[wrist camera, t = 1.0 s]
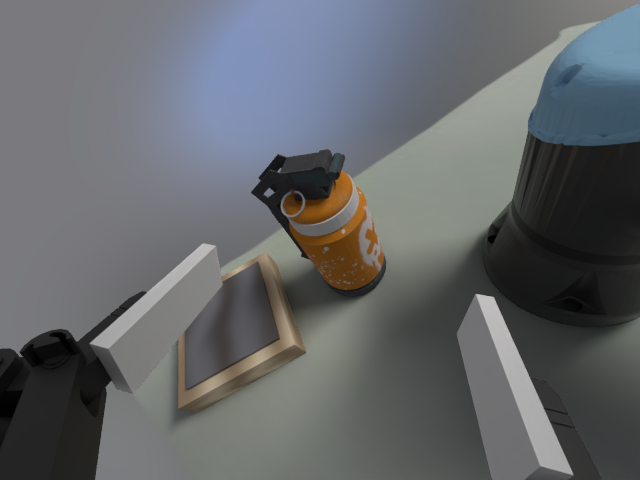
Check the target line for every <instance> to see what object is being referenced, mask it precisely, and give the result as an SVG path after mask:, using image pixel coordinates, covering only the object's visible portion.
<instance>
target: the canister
mask: <svg viewBox="0 0 640 480" xmlns="http://www.w3.org/2000/svg"><path fill="white" fill-rule="evenodd" d="M344 160H345V156H344V155H341V154H340V153H336V154H334V156H332V154H331V151H330V150H328V149H327V150H321V151H319V153H312V154H306V155H299V156H293V157H285V156H282V155H279V154H278V155H277V156H276V157H275V159H274V160H273V161H272V162H271V163H270V165H269V166H268V167H267V168H266V169H265V171H264V172H263V173H262V174H261V175H260V177H259V179H260V180H261V181H260V182H259V184H258V185H257V186H256V187H255V188H254V189H253V190H252V192H251V193H252V194H253V195H255V196H256V197H257V198H258V199H260V200H261V201H262V202H263V203H265V204H266V205H267V206H268V208H269V209H270V210H271V212H272V214H273V215H274V216H275V218H277V220H278V222H279V223H280V224H281V225H282V227H283V228H284V229H285V231H286V232H287V233H288V235H289V236H290V237H291V239H292V240H293V241H294V243H295V244H296V246H297V247H298V248H299V250H300V251H301V252H302V255H301V257H304V258H307V259H310V260H311V261H312V263H313V264H314V265H315V267H316V268H317V270H318V271H319V272H320V274H321V275H322V277H323V278H324V279H325V281H326V282H327V284H328V285H329V286H330V287H331V288H332V289H333V290H334V291H336V292H338V293H340V294H343V295H351V296H353V295H359V294H363V293H365V292H367V291H369V290H371V289H372V288H374V287H375V286H376V285H377V284H378V283H379V282H380V280H381V279H382V277H383V275H384V273H385V269H386V260H385V256H384V253H383V250H382V247H381V244H380V241H379V238H378V235H377V232H376V229H375V226H374V223H373V220H372V217H371V214H370V211H369V208H368V205H367V202H366V199H365V196H364V194H363V193H362V191H361V190H360V189H359V188H357V187H355V184H354V181H353V180H352V178H351V177H350V176H349V175H348V174H346V173H345V172H343V171H342V167H343V163H344ZM280 168H282V169H281V171H280V173H279V172H277V171H278V170H279V169H280ZM268 188H271V189H272V190H273V191H274V192H275V193H274V194H272V195H271V196H270V197H267V196H265V195H263V194H264V193H265V191H266V190H267V189H268Z"/></svg>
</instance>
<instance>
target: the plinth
mask: <svg viewBox="0 0 640 480" xmlns="http://www.w3.org/2000/svg"><path fill="white" fill-rule="evenodd" d="M221 278H222V284H223V285H222V286H221V288H220V289H219V290H218V291H217V292H216V294H215V295H214V296H213V297H212V299H211V300H210V301H209V302H208V303H207V305H206V306H205V307H204V308H203V310H202V311H201V312H200V313H199V314H198V316H197V317H196V318H195V319H194V321H193V322H192V323H191V324H190V325H189V327H188V328H187V329H186V330H185V332H184V333H183V334H182V335H181V336H180V338H179V348H178V409H181V410H187V411H193V412H200V411H201V410H203V409H205V408H207V407H209V406H210V405H212V404H214V403H216V402H218V401H219V400H221V399H223V398H225V397H227V396H228V395H230V394H232V393H234V392H236V391H237V390H239V389H241V388H243V387H245V386H247V385H248V384H250V383H252V382H254V381H256V380H257V379H259V378H261V377H263V376H265V375H266V374H268V373H270V372H272V371H274V370H275V369H277V368H279V367H281V366H283V365H284V364H286V363H288V362H290V361H292V360H293V359H295V358H297V357H299V356H301V355H302V354H304V353H306V351H305V348H304V345H303V342H302V339H301V336H300V333H299V330H298V327H297V324H296V321H295V318H294V315H293V312H292V309H291V306H290V303H289V300H288V297H287V294H286V291H285V288H284V285H283V282H282V279H281V276H280V273H279V270H278V268H277V265H276V263H275V262H274V261H273V259H272V258H271V257H270V256H269V255H268V254H267V253H266V252H265V253H263V254H261V255H259V256H258V257H256V258H254V259H252V260H251V261H249V262H247V263H245V264H243V265H242V266H240V267H238V268H236V269H235V270H233V271H231V272H229V273H228V274H226V275H224V276H222V277H221Z"/></svg>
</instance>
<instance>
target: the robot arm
mask: <svg viewBox="0 0 640 480" xmlns="http://www.w3.org/2000/svg"><path fill="white" fill-rule="evenodd" d="M483 261H484V266H485V269H486V271H487V273H488V275H489V277H490V279H491V281H492V282H493V283H494V285H495V286H496V287H497V288H498V289H499V290H500V291H501V293H503V294H504V295H505V296H506V297H507V298H508V299H510V300H511V301H512V302H514V303H515V304H517V305H518V306H520V307H521V308H523V309H525V310H527V311H529V312H531V313H533V314H535V315H537V316H540V317H542V318H545V319H548V320H551V321H555V322H559V323H563V324H568V325H574V326H584V327H601V326H610V325H616V324H621V323H624V322H628V321H630V320H633V319H635V318H637V317H639V316H640V4H638V5H636V6H633V7H630V8H628V9H625V10H623V11H621V12H619V13H617V14H615V15H613V16H611V17H609V18H607V19H605V20H603V21H601V22H600V23H598V24H596V25H595V26H593V27H591V28H590V29H588V30H587V31H585V32H584V33H582V34H581V35H579V36H578V37H577V38H576V39H574V40H573V41H572V42H571V43H569V44H568V45H567V46H566V47H565V48H564V49H563V50H562V51H561V52H560V53H559V55H558V56H557V57H556V58H555V59H554V61H553V62H552V64H551V65H550V67H549V68H548V70H547V73H546V75H545V77H544V80H543V84H542V87H541V90H540V94H539V97H538V100H537V103H536V106H535V107H534V108H533V110H532V112H531V114H530V117H529V120H528V135H527V139H526V143H525V147H524V152H523V156H522V160H521V165H520V169H519V173H518V178H517V182H516V186H515V191H514V195H513V199H512V201H511V202H510V203H509V204H508V205H507V207H506V208H505V209H504V210H503V211H502V212H501V213H500V214H499V216H498V217H497V218H496V219H495V220H494V221H493V223H492V224H491V226H490V227H489V229H488V232H487V234H486V237H485V242H484V248H483ZM222 285H223V284H222V278H221V272H220V267H219V261H218V255H217V250H216V246H213V245H209V244H202V245H201V246H200V247H198V249H196V250H195V251H194V252H193V253H192V254H191V255H189V256H188V257H187V258H186V259H185V260H184V261H183V262H181V264H179V265H178V266H177V267H176V268H175V269H174V270H172V271H171V272H170V273H169V274H168V275H167V276H166V277H165V278H163V279H162V280H161V281H160V282H159V283H158V284H156V285H155V286H154V287H153V288H152V289H151V290H150V291H149V292H143V291H142V292H140V293H138V294H136V295H134V296H133V297H131V298H129V299H128V300H127V301H125V302H124V303H123V304H122V305H121V306H119V308H118V309H116V310H115V311H114V312H112V313H111V315H110V316H107V317H106V318H105V319H104V320H103V321H102V322H100V323H99V324H98V325H97V326H96V327H94V328H93V329H92V330H91V331H90V332H88V333H87V334H86V335H85V336H84V337H83V338H81V339H80V340H79V341H78V342H76V341H75V339H74V338H73V336H72V335H71V333H69V332H68V331H67V330H63V329H58V330H51V331H49V332H46V333H43V334H41V335H39V336H37V337H35V338H33V339H32V340H30V341H29V342H28V343H27V344H26V345H24V347H23V348H22V349H21V351H20V354H21V355H22V356H23V357H19V356H18V354H17V353H16V352H15V351H14V350H12V349H0V480H95V475H96V468H97V460H98V453H99V446H100V439H101V431H102V424H103V417H104V409H105V402H106V395H107V392H106V388H105V387H106V386H107V385H108V384H109V382H110V381H111V380H112V382H113V384H114V385H115V387H116V389H118V390H121V391H125V392H128V393H132V394H134V393H135V392H136V390H137V389H138V388H139V387H140V385H141V384H142V383H143V382H144V381H145V379H146V378H147V377H148V376H149V374H150V373H151V372H152V371H153V370H154V368H155V367H156V366H157V365H158V363H159V362H160V361H161V360H162V358H163V357H164V356H165V355H166V354H167V352H168V351H169V350H170V349H171V347H172V346H173V345H174V344H175V343H176V341H177V340H178V339H179V338H180V336H181V335H182V334H183V333H184V332H185V330H186V329H187V328H188V327H189V325H190V324H191V323H192V322H193V321H194V319H195V318H196V317H197V316H198V314H199V313H200V312H201V311H202V310H203V308H204V307H205V306H206V305H207V303H208V302H209V301H210V300H211V299H212V297H213V296H214V295H215V294H216V292H217V291H218V290H219V289H220V288H221V286H222ZM457 338H458V342H459V346H460V350H461V354H462V358H463V362H464V366H465V370H466V375H467V379H468V383H469V387H470V391H471V395H472V399H473V403H474V408H475V412H476V416H477V420H478V424H479V428H480V432H481V436H482V440H483V445H484V449H485V453H486V457H487V461H488V465H489V469H490V473H491V478H492V480H602V479H601V477H600V475H599V473H598V471H597V469H596V467H595V465H594V464H593V462H592V460H591V458H590V456H589V454H588V452H587V450H586V448H585V446H584V444H583V442H582V440H581V438H580V436H579V434H578V432H577V431H575V429H574V428H575V427H574V425H573V423H572V421H571V419H570V417H569V416H568V415H567V414H568V413H567V411H566V409H565V407H564V405H563V403H562V401H561V399H560V397H559V396H558V395H557V394H556V393H555V391H554V390H553V389H552V388H551V387H550V386H549V385H548V384H547V382H546V381H542V380H538V379H533V378H530V377H529V375H528V372H527V370H526V368H525V366H524V364H523V361H522V359H521V357H520V355H519V352H518V350H517V348H516V346H515V344H514V341H513V339H512V337H511V335H510V332H509V330H508V328H507V326H506V324H505V321H504V319H503V317H502V315H501V312H500V310H499V308H498V306H497V304H496V301H495V299H494V297H491V296H485V295H480V294H475V296H474V298H473V300H472V302H471V305H470V307H469V309H468V311H467V313H466V315H465V317H464V319H463V321H462V323H461V326H460V328H459V330H458V332H457Z"/></svg>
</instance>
